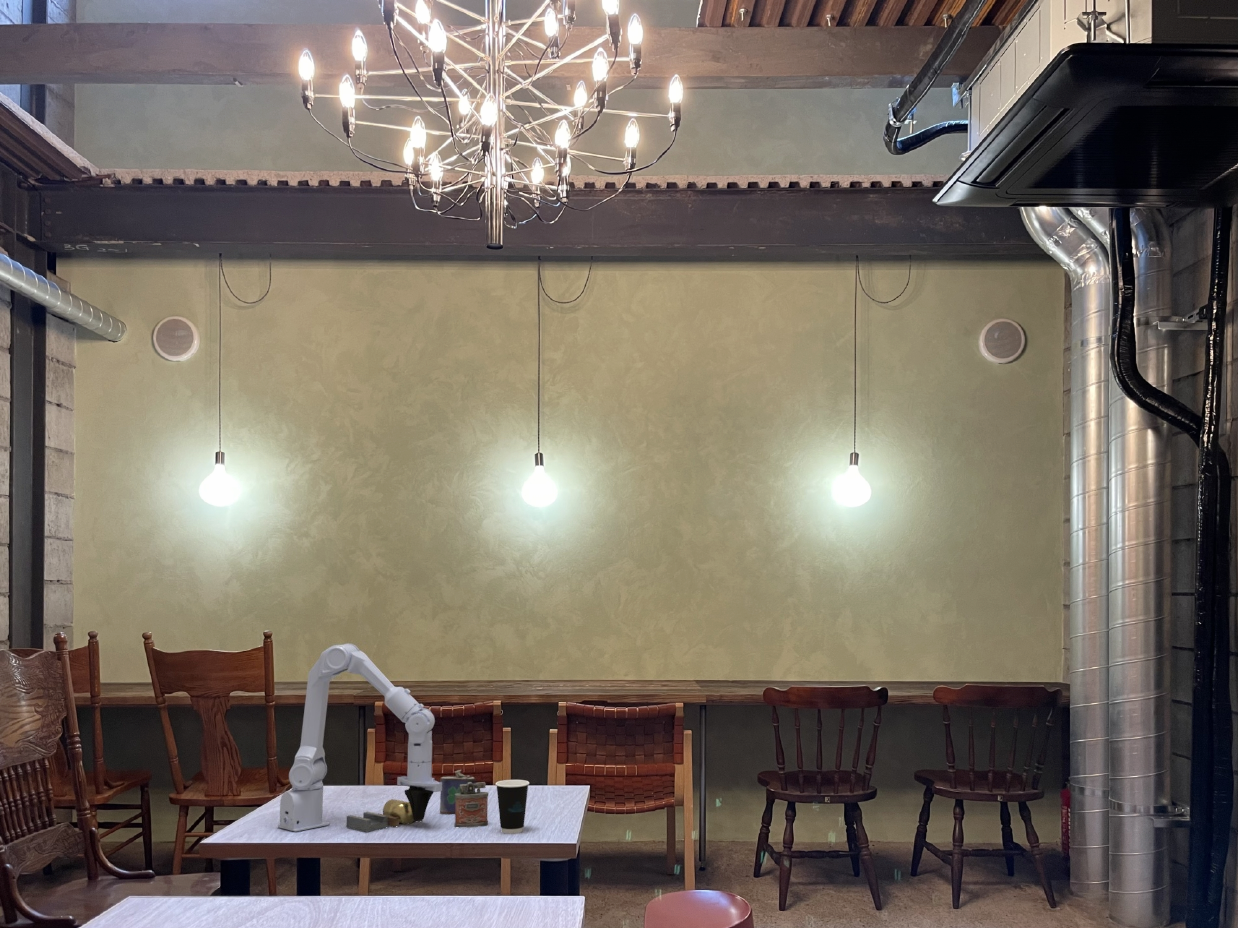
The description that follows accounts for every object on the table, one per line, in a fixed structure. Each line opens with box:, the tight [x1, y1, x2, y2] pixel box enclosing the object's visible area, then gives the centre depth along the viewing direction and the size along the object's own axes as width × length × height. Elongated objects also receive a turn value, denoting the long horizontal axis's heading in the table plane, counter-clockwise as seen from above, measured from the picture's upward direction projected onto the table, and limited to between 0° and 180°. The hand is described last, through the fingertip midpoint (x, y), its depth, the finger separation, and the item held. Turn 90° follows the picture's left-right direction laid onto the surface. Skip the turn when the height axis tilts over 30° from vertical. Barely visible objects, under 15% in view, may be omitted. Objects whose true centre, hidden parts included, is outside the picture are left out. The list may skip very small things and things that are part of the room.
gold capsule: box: [382, 798, 415, 825], centre depth 246 cm, size 7×5×5 cm
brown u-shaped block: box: [377, 813, 424, 828], centre depth 245 cm, size 8×8×2 cm
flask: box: [439, 769, 476, 815], centre depth 255 cm, size 9×3×11 cm, turn 79°
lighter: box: [454, 781, 489, 828], centre depth 241 cm, size 8×3×10 cm, turn 105°
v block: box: [345, 811, 389, 833], centre depth 239 cm, size 6×8×3 cm
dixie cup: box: [495, 779, 530, 835], centre depth 235 cm, size 8×8×11 cm
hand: (418, 819), depth 240 cm, fingers closed
